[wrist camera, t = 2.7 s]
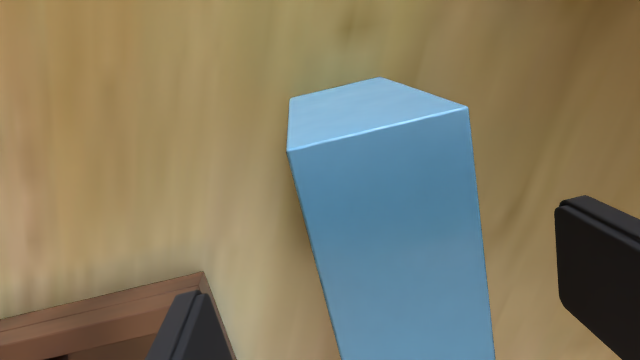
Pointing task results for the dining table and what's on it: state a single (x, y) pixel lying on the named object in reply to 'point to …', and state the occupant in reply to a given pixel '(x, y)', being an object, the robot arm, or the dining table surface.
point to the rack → (99, 324)
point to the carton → (393, 220)
